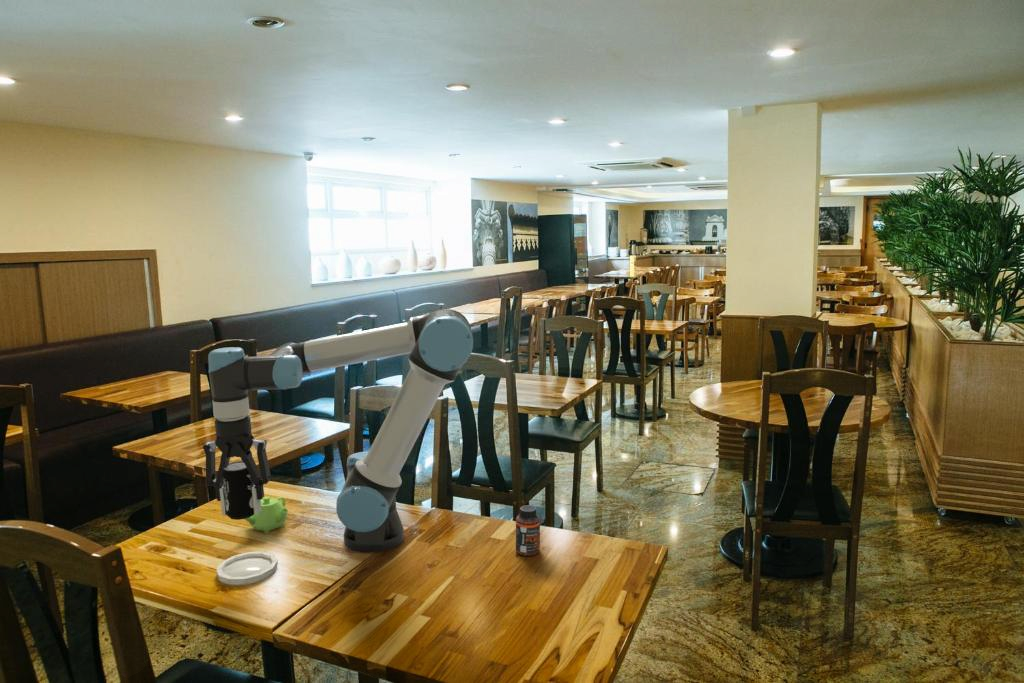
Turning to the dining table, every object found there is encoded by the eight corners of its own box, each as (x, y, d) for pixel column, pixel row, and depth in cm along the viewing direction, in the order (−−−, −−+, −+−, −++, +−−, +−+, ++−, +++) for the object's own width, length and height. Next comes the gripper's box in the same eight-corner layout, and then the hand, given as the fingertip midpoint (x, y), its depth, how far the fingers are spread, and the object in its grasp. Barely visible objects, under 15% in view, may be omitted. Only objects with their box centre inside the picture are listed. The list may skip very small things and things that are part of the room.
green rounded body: (292, 516, 192) (291, 487, 190) (288, 534, 181) (286, 504, 179) (250, 520, 190) (247, 491, 188) (243, 539, 179) (240, 508, 177)
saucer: (283, 557, 169) (283, 551, 168) (266, 584, 156) (266, 578, 156) (230, 558, 168) (229, 552, 168) (208, 586, 156) (207, 579, 155)
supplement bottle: (527, 559, 167) (526, 515, 165) (510, 551, 171) (510, 507, 169) (545, 551, 171) (545, 508, 169) (528, 543, 175) (528, 501, 173)
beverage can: (246, 521, 156) (241, 471, 154) (220, 519, 157) (215, 469, 155) (262, 509, 162) (258, 460, 160) (237, 508, 164) (232, 459, 162)
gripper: (280, 410, 160) (289, 504, 164) (195, 413, 159) (206, 507, 163) (270, 419, 152) (279, 518, 156) (180, 422, 152) (192, 521, 156)
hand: (242, 512), depth 160 cm, fingers closed on beverage can, 7 cm apart
